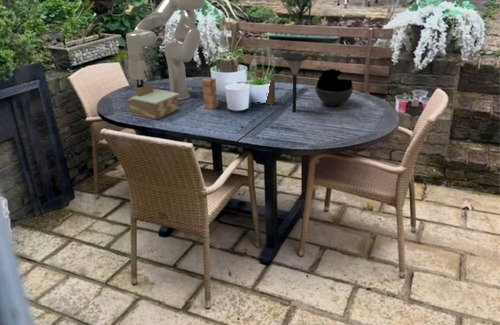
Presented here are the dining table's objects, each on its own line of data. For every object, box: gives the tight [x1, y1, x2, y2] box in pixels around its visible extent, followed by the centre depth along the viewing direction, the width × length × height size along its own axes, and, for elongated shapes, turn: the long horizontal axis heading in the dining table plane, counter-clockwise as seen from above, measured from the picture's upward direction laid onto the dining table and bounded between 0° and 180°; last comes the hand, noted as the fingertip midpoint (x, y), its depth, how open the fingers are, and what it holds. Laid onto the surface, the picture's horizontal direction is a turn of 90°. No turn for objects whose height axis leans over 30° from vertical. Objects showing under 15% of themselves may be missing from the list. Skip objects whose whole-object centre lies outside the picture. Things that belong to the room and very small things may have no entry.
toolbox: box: [128, 97, 179, 121], centre depth 241 cm, size 18×18×8 cm
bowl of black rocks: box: [315, 68, 354, 106], centre depth 241 cm, size 20×20×19 cm
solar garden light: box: [282, 53, 308, 113], centre depth 230 cm, size 12×12×30 cm
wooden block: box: [255, 69, 276, 105], centre depth 247 cm, size 4×11×18 cm, turn 60°
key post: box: [201, 77, 218, 111], centre depth 242 cm, size 5×5×16 cm
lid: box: [130, 83, 179, 105], centre depth 237 cm, size 18×18×5 cm
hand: (141, 91), depth 242 cm, fingers closed
